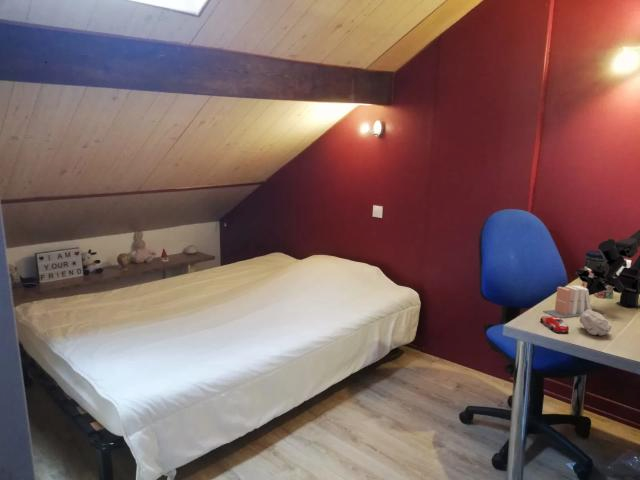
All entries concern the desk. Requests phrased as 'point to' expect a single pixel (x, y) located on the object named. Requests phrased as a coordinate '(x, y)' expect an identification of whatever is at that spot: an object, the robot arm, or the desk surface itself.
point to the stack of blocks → (602, 294)
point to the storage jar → (594, 257)
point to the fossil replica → (595, 323)
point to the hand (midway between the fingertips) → (585, 295)
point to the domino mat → (556, 314)
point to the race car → (555, 324)
